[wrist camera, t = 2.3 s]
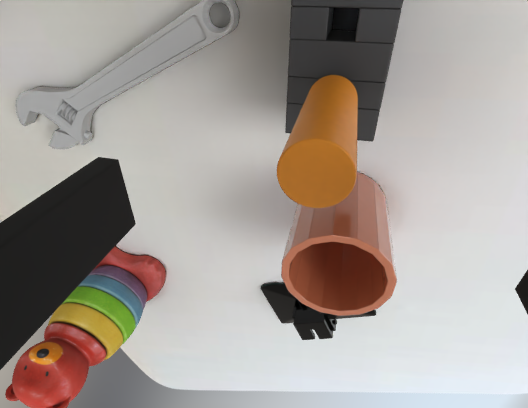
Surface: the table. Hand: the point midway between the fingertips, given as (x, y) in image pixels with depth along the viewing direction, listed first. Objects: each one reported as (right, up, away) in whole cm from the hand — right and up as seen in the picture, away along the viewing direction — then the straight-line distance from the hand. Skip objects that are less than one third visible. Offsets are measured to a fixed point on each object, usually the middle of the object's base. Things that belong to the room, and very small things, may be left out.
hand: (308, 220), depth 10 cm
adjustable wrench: (-14, +11, +20) cm, 27 cm away
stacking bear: (-20, -9, +36) cm, 42 cm away
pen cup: (+6, 0, +21) cm, 22 cm away
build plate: (+5, -11, +30) cm, 32 cm away
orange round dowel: (+4, +10, +15) cm, 19 cm away
